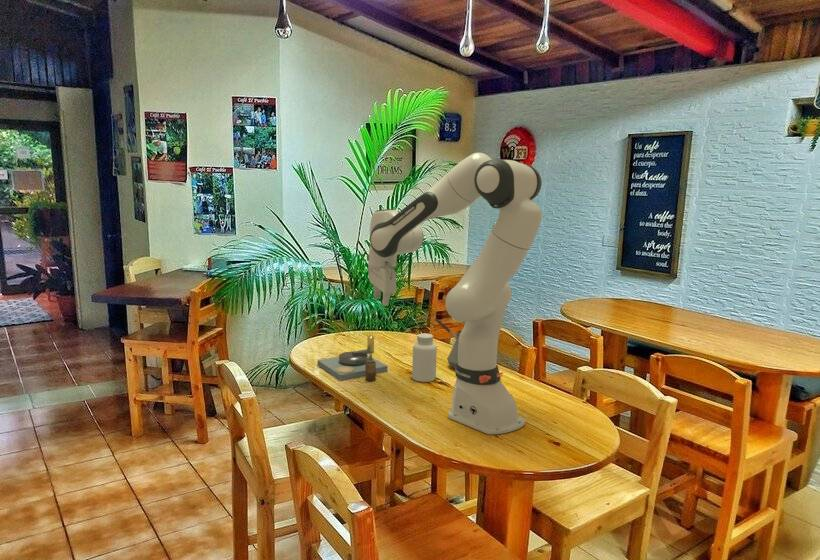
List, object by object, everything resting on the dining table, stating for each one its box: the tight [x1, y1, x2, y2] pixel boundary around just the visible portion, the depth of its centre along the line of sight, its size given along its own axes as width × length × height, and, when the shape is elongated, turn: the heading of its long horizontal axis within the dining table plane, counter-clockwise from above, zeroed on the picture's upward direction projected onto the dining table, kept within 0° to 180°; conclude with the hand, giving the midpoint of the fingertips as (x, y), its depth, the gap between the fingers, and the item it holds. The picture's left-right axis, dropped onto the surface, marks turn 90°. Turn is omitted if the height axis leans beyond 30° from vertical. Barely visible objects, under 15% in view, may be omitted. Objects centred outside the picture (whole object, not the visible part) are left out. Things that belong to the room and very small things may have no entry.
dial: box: [338, 335, 375, 366], centre depth 200 cm, size 10×13×8 cm
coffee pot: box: [432, 318, 463, 370], centre depth 204 cm, size 21×12×15 cm, turn 40°
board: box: [317, 355, 389, 382], centre depth 198 cm, size 18×18×2 cm
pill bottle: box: [411, 332, 438, 383], centre depth 189 cm, size 8×8×15 cm
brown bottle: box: [364, 354, 377, 383], centre depth 187 cm, size 3×3×9 cm
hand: (381, 301), depth 184 cm, fingers open, 8 cm apart
